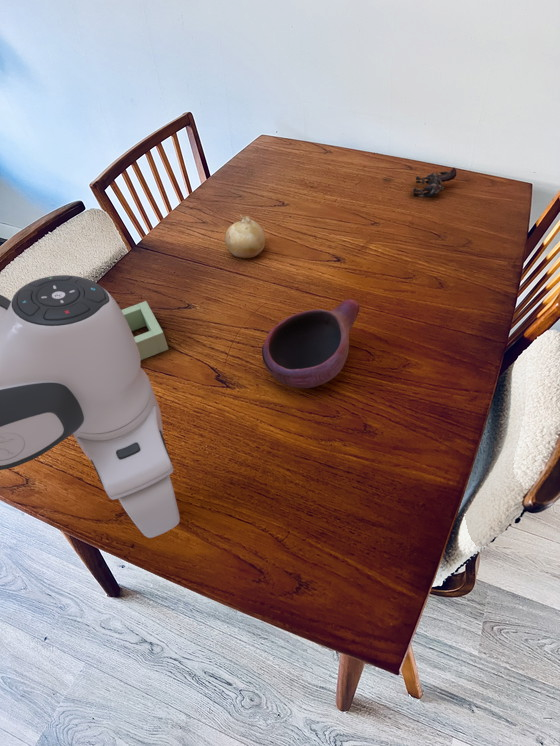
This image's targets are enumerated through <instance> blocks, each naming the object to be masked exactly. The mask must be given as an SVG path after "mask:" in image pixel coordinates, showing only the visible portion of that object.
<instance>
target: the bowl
mask: <svg viewBox="0 0 560 746" xmlns="http://www.w3.org/2000/svg"><path fill="white" fill-rule="evenodd" d="M359 313H360V304H359V303H358V301H356V300H354V299H351V298H348V299H344V300H343V301H342V302H340V304H338V305H337V306H336V307H335V308H333V309H332V310H326V309H318V308H316V309H308V310H304V311H300V312H296V313H294V314H292V315H289V316H287V317H286V318H284V319H283V320H282V321H280V322H279V323H278V324H276V325H275V326H273V328H272V329H271V330H270V331H268V334H267V336H266V338H265V340H264V343H263V344H262V347H261V356H262V362H263V364H264V366H265V368H266V370H267V371H268V372H269V374H270V375H271V376H272V377H273V378H274V379H275V380H277V381H278V382H280V383H282V384H283V385H285V386H287V387H291V388H295V389H311V388H316V387H319V386H322V385H324V384H326V383H328V382H329V381H331V380H333V379H334V378H335V377H337V375H339V374H340V372H341V370H343V368H344V366H345V364H346V361H347V358H348V356H349V349H350V332H351V330H352V328H353V325H354V324H355V322H356V320H357V318H358V315H359Z"/></svg>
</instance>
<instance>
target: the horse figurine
mask: <svg viewBox="0 0 560 746" xmlns="http://www.w3.org/2000/svg"><path fill="white" fill-rule="evenodd" d="M438 173H439V174H438ZM456 178H457V169H456V167H453V168H452V169H451V170H450V171H437V172H431V173H429V174H427V175H426V177H421V176H418V175H417V176H415V180H416V181H415V184H422V185H426V186H425V187H424V188H423V189H418V188H417V187H414V188H413V189H412V191H413V197H415V196H418V197H420V198H432V197H435V196H437V195H438V194H439V193H440V192H441V191H443V190H445V189H444V188H445V186H443V183H445V182H449V181H453V180H455V179H456ZM386 180H387V181H389V179H386Z"/></svg>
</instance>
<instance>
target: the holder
mask: <svg viewBox="0 0 560 746" xmlns="http://www.w3.org/2000/svg"><path fill="white" fill-rule="evenodd" d="M121 311H122V313H123V315H124V317H125V319H126V321H127V323H128V325H129V327H130V329H131V332H134V331H136V330H139V329H141V328H145V327H146V328H147V330H148V331H146V332H143V333H141V334H138V335H136V336H134V339H135V342H136V344H137V347H138V350H139V353H140V359H141V361H143V360H145V359H147V358H149V357H153V356H155V355H158V354H160V353H163V352H166V351H169V346H168V343H167V342H168V341H167V340H166V336H165V333H164V330H163V329H162V327H161V326H160V324H159V322H158V320H157V319H156V316H155V315H154V313H153V311H152V309H151V307H150V305H149V303H148V302H147V300H144V301H142V302H140V303H137V304H134V305H131V306H128V307H126V308H122V309H121Z"/></svg>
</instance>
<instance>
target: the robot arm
mask: <svg viewBox="0 0 560 746" xmlns="http://www.w3.org/2000/svg"><path fill="white" fill-rule="evenodd" d="M121 310H122V309H121V307H120V305H119V304H118V302H117V301H116V300H115V298H114V297H113V296H112V294H111V293H110V292H109V291H108V290H106V289H105V288H104V287H103V286H101V284H99V283H97V282H95V281H93V280H91V279H89V278H85V277H82V276H76V275H68V274H66V275H65V274H60V275H50V276H44V277H41V278H38V279H35V280H32V281H30V282H28V283H26V284H25V285H23V286H21V288H19V289H18V290H17V291H16V292H15V293H14V294H13V296H12V297H11V299H9V298H8V297H6V296H4V295H2V294H0V471H3V470H8V469H12V468H15V467H19V466H21V465H24V464H26V463H29V462H31V461H33V460H35V459H37V458H39V457H40V456H42V455H44V454H46V453H47V452H48V451H50V450H51V449H53V448H55V447H56V446H58V445H59V444H60V443H62V442H63V441H65V440H66V439H68V438H70V436H73V438H74V440H75V441H76V443H77V444H78V446H79V448H80V449H81V451H82V452H83V454H84V455H85V456H86V457H87V459H88V460H89V461H90V463H91V464H92V465H93V468H94V470H95V472H96V474H97V476H98V480H99V481H100V484H101V485H102V488H103V489H104V491H105V493H106V494H107V497H108V498H109V499H110V500H112V501H114V500H118V501H119V503H120V504H121V506H122V508H123V510H124V511H125V512H126V514H127V515H128V517H129V518H130V519H131V521H132V522H133V524H134V525H135V526H136V528H137V529H138V530H139V531H140V532H141V534H142V535H143V536H145V537H146V538H148V539H152V538H155V537H158V536H161V535H163V534H165V533H166V532H169V531H170V530H172V529H174V528H175V527H177V526H178V525H179V523H180V521H181V518H180V517H181V516H180V511H179V507H178V502H177V499H176V495H175V490H174V486H173V482H172V478H171V476H170V475H171V474H173V473H174V465H173V463H172V459H171V456H170V453H169V451H168V448H167V445H166V440H165V437H164V429H163V421H162V411H161V408H160V406H159V403H158V400H157V397H156V395H155V391H154V389H153V386H152V383H151V380H150V378H149V376H148V374H147V373H146V371H145V370H144V369H143V368H142V367H141V366H142V365H141V364H142V363H141V361H142V360H141V359H140V353H139V350H138V347H137V344H136V342H135V339H134V337H135V336H134V334H133V331H131V329H130V327H129V325H128V323H127V321H126V319H125V317H124V315H123V313H122V311H121Z"/></svg>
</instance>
